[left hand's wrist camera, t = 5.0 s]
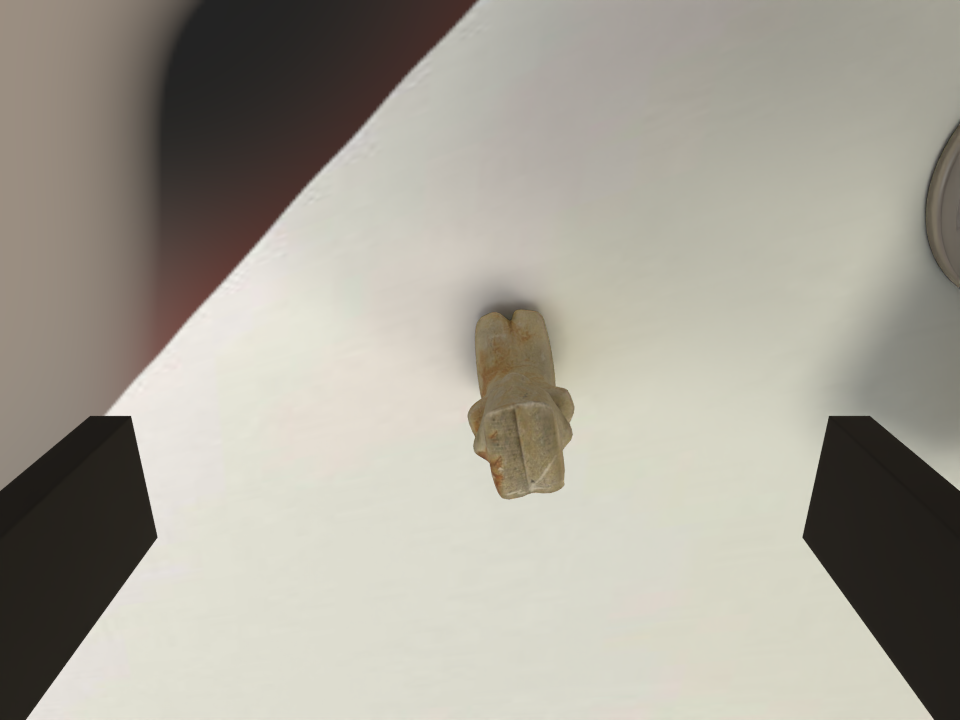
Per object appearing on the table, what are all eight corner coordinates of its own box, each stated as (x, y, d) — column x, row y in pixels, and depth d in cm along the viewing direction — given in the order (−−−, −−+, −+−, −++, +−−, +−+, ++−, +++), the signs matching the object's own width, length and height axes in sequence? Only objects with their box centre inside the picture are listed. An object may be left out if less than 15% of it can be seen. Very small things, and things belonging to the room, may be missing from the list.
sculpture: (554, 300, 43) (589, 398, 30) (559, 399, 46) (593, 533, 32) (465, 307, 44) (458, 409, 30) (475, 406, 46) (473, 541, 32)
